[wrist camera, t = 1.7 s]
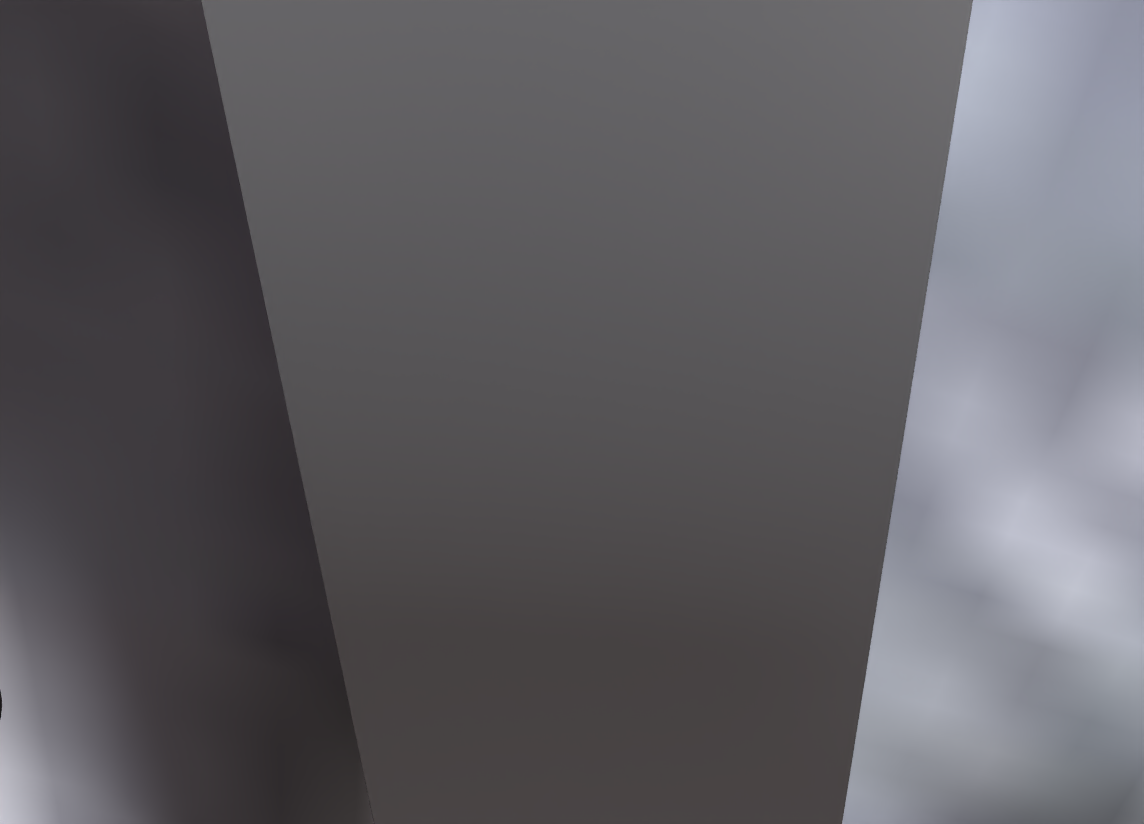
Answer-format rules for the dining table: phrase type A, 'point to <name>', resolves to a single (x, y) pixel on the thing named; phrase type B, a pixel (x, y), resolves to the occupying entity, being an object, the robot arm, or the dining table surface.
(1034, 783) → the dining table surface
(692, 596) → the grey long bar
